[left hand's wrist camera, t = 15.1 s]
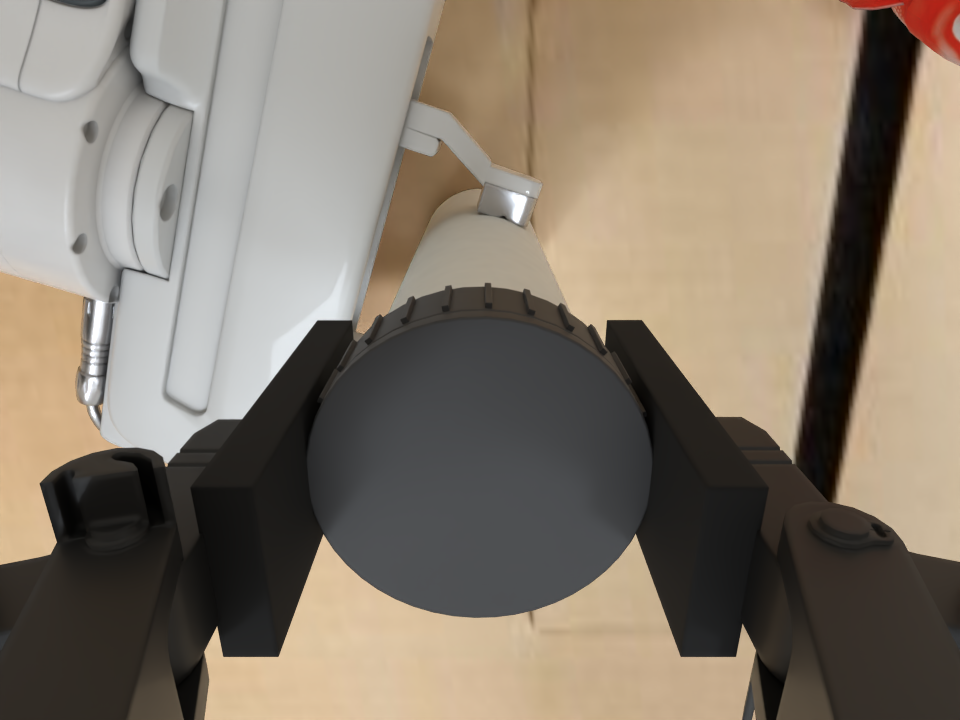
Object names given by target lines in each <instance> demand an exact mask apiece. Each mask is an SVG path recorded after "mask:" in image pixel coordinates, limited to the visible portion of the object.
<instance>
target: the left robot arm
mask: <svg viewBox="0 0 960 720" xmlns="http://www.w3.org/2000/svg"><path fill="white" fill-rule="evenodd" d="M352 340H354V337H353V324H352V320H317V321H316V323H315V324H314V325H313V327H312V328H311V329H310V331H309V332H308V333H307V335H306V336H305V337H304V339H303V340H302V341H301V343H300V344H299V345H298V346H297V348H296V349H295V350H294V352H293V353H292V354H291V356H290V357H289V358H288V360H287V361H286V362H285V364H284V365H283V366H282V367H281V369H280V370H279V371H278V373H277V374H276V375H275V377H274V378H273V379H272V381H271V382H270V383H269V385H268V386H267V387H266V388H265V390H264V391H263V392H262V394H261V395H260V396H259V398H258V399H257V400H256V402H255V403H254V404H253V406H252V407H251V408H250V410H249V411H248V412H247V413H246V415H245V416H244V417H243V419H218V420H216V421H214V422H213V423H211V424H209V425H207V426H206V427H204V428H202V429H201V430H199V431H197V432H195V433H194V434H193V435H192V436H191V437H190V439H189V440H188V441H187V442H186V443H185V444H184V445H183V447H182V448H181V449H180V453H176V455H175V456H174V457H173V458H172V459H171V460H170V461H169V463H168V467H165V464H164V459H163V457H162V456H161V455H159V454H158V453H156V452H155V451H154V450H148V449H143V448H138V447H135V448H115V449H110V450H105V451H100V452H95V453H92V454H89V455H86V456H83V457H80V458H78V459H75V460H72V461H70V462H68V463H66V464H64V465H63V466H61V467H59V468H57V469H56V470H54V471H52V472H51V473H50V474H49V475H48V476H47V477H46V478H45V479H44V480H43V481H42V482H41V483H40V486H41V490H42V493H43V496H44V500H45V503H46V507H47V510H48V513H49V517H50V520H51V523H52V527H53V530H54V533H55V537H56V540H57V544H56V546H55V547H54V549H53V551H52V553H51V555H47V556H43V557H39V558H34V559H29V560H23V561H18V562H13V563H8V564H3V565H0V720H204V717H205V709H206V701H207V693H208V685H209V675H208V669H207V663H206V659H205V654H204V651H205V649H206V647H207V645H208V643H209V641H210V639H211V637H212V635H213V633H214V631H215V629H216V627H218V632H219V637H220V642H221V647H222V652H223V657H279V654H280V651H281V648H282V646H283V643H284V640H285V637H286V635H287V632H288V629H289V626H290V624H291V621H292V618H293V616H294V613H295V610H296V607H297V605H298V602H299V599H300V596H301V594H302V591H303V588H304V585H305V583H306V580H307V577H308V575H309V572H310V569H311V566H312V564H313V561H314V558H315V555H316V553H317V550H318V547H319V544H320V542H321V539H322V536H323V532H322V530H321V528H320V526H319V524H318V522H317V520H316V517H315V515H314V512H313V509H312V505H311V498H310V489H309V481H308V472H307V462H306V450H307V444H308V437H309V434H310V431H311V428H312V424H313V421H314V418H315V416H316V414H317V412H318V410H319V408H320V406H321V404H320V403H318V402H317V401H318V399H319V396H320V395H321V393H322V391H323V389H324V387H325V386H326V384H327V382H328V380H329V378H330V376H331V375H332V373H333V371H334V369H336V368H337V367H338V365H339V363H340V361H341V359H342V357H343V356H344V354H345V352H346V350H347V348H348V346H349V345H350V343H351V342H352ZM605 347H606V348H607V349H608V350H609V352H610V353H612V352H614V351H615V353H616V354H617V356H618V358H619V359H620V361H621V363H622V365H623V367H624V368H625V370H626V372H627V374H628V376H629V377H630V379H631V381H632V383H631V385H632V387H633V389H634V391H635V393H636V394H637V396H638V398H639V400H640V402H641V404H642V405H643V407H644V409H645V411H646V414H647V417H644V418H645V421H646V423H647V426H648V429H649V433H650V438H651V442H652V447H653V463H652V473H651V482H650V490H649V498H648V506H647V510H646V512H645V515H644V517H643V520H642V522H641V525H640V527H639V528H638V530H637V532H636V535H637V538H638V541H639V544H640V546H641V549H642V552H643V555H644V557H645V560H646V563H647V565H648V568H649V571H650V574H651V576H652V579H653V582H654V585H655V587H656V590H657V593H658V596H659V598H660V601H661V604H662V607H663V609H664V612H665V615H666V617H667V620H668V623H669V626H670V628H671V631H672V634H673V637H674V639H675V642H676V645H677V648H678V650H679V653H680V656H681V657H736V654H737V648H738V643H739V638H740V633H741V628H742V623H743V625H744V627H745V629H746V631H747V633H748V635H749V637H750V639H751V641H752V643H753V645H754V647H755V649H756V654H755V659H754V663H753V668H752V673H751V677H750V682H749V687H748V692H747V696H746V701H745V706H744V712H743V719H742V720H752V717H753V712H754V710H755V715H756V720H960V562H957V561H952V560H946V559H941V558H936V557H931V556H926V555H920V554H916V553H912V552H908V550H907V548H906V546H905V544H904V542H903V541H902V540H901V539H900V537H899V536H898V535H897V534H896V533H895V531H894V530H893V529H892V528H891V527H889V526H888V525H886V524H885V523H883V522H882V521H880V520H879V519H877V518H876V517H874V516H872V515H869V514H867V513H865V512H862V511H860V510H857V509H855V508H853V507H848V506H844V505H840V504H836V503H831V502H828V501H827V500H826V499H825V498H824V497H823V496H822V494H821V493H820V492H819V491H818V490H817V489H816V488H815V487H814V485H813V484H812V483H811V482H810V481H809V480H808V479H807V477H806V476H805V475H804V474H803V473H802V472H801V471H800V470H799V468H798V467H797V466H796V465H795V464H792V460H791V459H790V458H789V457H788V456H787V455H786V454H785V453H784V451H783V450H780V447H779V446H778V445H777V443H776V442H775V441H774V440H773V439H772V438H771V437H770V436H769V434H768V433H767V432H766V431H765V430H763V429H761V428H759V427H758V426H756V425H754V424H752V423H751V422H749V421H747V420H746V419H744V418H742V417H715V416H714V414H713V413H712V412H711V411H710V409H709V408H708V407H707V405H706V404H705V403H704V401H703V400H702V399H701V397H700V396H699V395H698V393H697V392H696V391H695V389H694V388H693V387H692V386H691V384H690V383H689V382H688V380H687V379H686V378H685V376H684V375H683V374H682V372H681V371H680V370H679V368H678V367H677V366H676V365H675V363H674V362H673V361H672V359H671V358H670V357H669V355H668V354H667V353H666V351H665V350H664V349H663V347H662V346H661V345H660V343H659V342H658V341H657V340H656V338H655V337H654V336H653V334H652V333H651V332H650V330H649V329H648V328H647V326H646V325H645V324H644V322H643V321H642V320H607V328H606V341H605Z"/></svg>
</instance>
